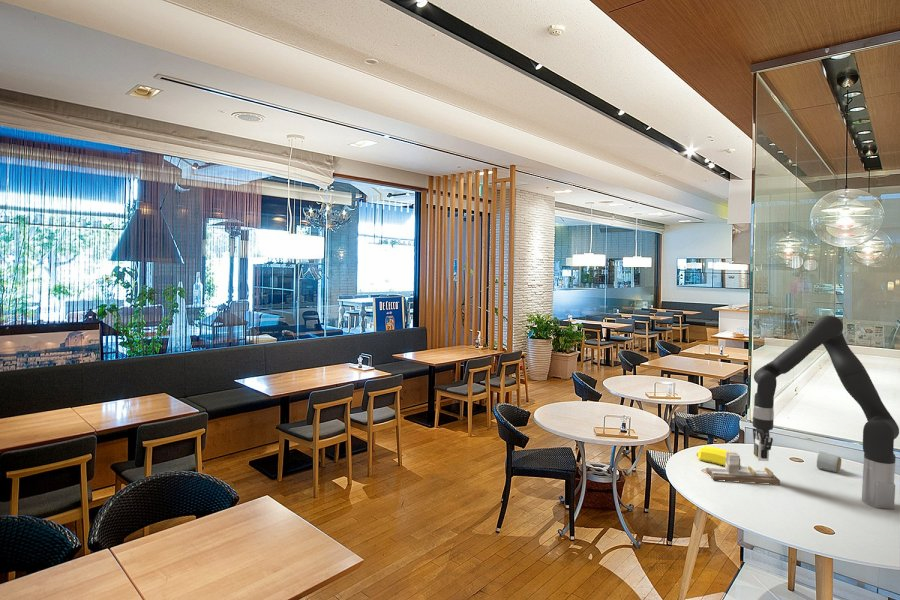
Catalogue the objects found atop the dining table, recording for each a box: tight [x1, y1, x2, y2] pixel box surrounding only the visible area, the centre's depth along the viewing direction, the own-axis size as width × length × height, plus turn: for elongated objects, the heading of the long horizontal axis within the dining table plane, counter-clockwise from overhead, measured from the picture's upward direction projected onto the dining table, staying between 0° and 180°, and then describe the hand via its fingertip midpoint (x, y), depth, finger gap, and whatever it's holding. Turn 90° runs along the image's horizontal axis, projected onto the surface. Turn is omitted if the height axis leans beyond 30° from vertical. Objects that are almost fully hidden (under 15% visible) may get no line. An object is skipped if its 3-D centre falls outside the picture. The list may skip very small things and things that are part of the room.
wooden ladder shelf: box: [705, 451, 781, 485], centre depth 220 cm, size 9×26×11 cm, turn 81°
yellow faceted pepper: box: [696, 445, 731, 467], centre depth 238 cm, size 18×7×8 cm
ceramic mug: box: [816, 450, 842, 473], centre depth 231 cm, size 11×8×8 cm
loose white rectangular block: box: [753, 439, 770, 462], centre depth 218 cm, size 4×4×8 cm
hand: (761, 456), depth 219 cm, fingers closed on loose white rectangular block, 4 cm apart
